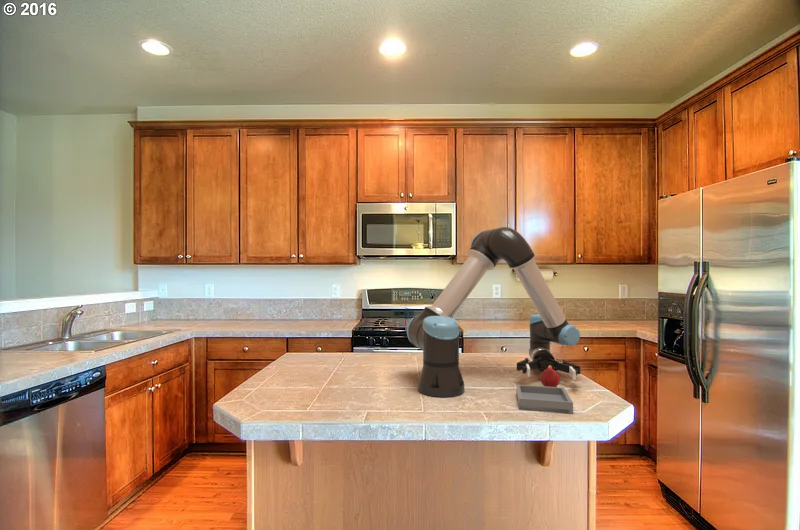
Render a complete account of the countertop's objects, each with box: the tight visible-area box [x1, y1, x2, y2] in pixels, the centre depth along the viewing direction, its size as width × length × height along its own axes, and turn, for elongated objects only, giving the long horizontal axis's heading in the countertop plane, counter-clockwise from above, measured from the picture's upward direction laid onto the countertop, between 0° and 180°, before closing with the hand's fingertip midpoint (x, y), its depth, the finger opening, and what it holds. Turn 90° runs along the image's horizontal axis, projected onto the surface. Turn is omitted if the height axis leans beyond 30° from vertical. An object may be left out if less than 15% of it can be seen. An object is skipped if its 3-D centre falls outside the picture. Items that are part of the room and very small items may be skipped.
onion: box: [540, 365, 561, 387], centre depth 124 cm, size 6×6×8 cm
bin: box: [515, 384, 574, 415], centre depth 112 cm, size 14×14×3 cm
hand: (551, 374), depth 121 cm, fingers open, 13 cm apart
